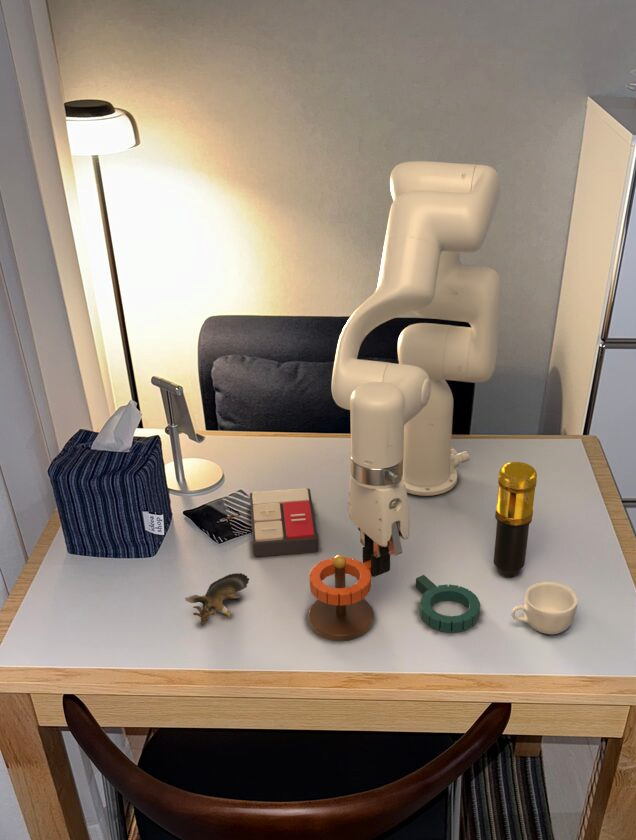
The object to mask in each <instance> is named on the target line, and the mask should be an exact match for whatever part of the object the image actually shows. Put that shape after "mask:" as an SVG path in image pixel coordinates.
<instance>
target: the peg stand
mask: <svg viewBox="0 0 636 840" xmlns="http://www.w3.org/2000/svg"><path fill="white" fill-rule="evenodd" d="M333 558H334V559H333V564H334V567H335V574H334V588H347V587H346V574H345V565H346V558H347V557H345V556H344V555H342V554H338V555H336V556H334V557H333ZM373 623H374V610H373V607H372V605H371V604H370V603H369V602H368V601H367V600H366V599H365V598H363V599H361V601H358V602H356V603H353V604H352V603H351V604H349V605H341V606H340V604H339V605H331V604H328V603H327V604H326V603H324V602H322V601H320V600H318V599H316V601H314V603H312V604H311V606H310V608H309V611H308V624H309V627H310V628H311V630H312V632H314V633H315V634H316V635H318V636H319V637H321V638H323V639H325V640H329V641H335V642H346V641H351V640H355V639H357V638H360V637H362V636H364V635H365V634H366V633H368V631H369V630H370V629H371V628H372V626H373Z"/></svg>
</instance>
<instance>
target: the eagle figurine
mask: <svg viewBox="0 0 636 840" xmlns="http://www.w3.org/2000/svg"><path fill="white" fill-rule="evenodd" d="M249 582H250V578H249V577H248V575H245V574H244V573H243V572H235V573H230V574H228V575H227V574H226V575H225V576H222V577H221V578H219V579H217V580H215V581H214V582H212V583H211V584H209V587H208V588H207V591H206V593H205V594H204V595H198V594H192V595H189V596H186V597H185V598H184V600H185V602H187V603H189V604H197V603H201V604H202V607H201V606H199V605H195V606H192V608H193V609H196V610H197V611H198V612H192V614H193V616H197V617H199V618H200V626H203V625H204V624H205V623H206V622H207V621H208V620H209V617H211V616H215V615H216V614H217V612H219V613H222V614H223V615H226V616H227V617H228V618H230V617H231V614H230V610H229V609H228V608H227V607H226V606H225V605H224V604H223V602H224V601H225V600H226V601H227V600H234V599H235V600H236V599H240V595H239V594H238V593H237V592H240V591H243V590H245V589H246V588H247V587H248V584H249ZM211 610H212V611H211Z"/></svg>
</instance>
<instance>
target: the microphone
mask: <svg viewBox="0 0 636 840" xmlns="http://www.w3.org/2000/svg"><path fill="white" fill-rule="evenodd" d="M537 478H538V473H537V470H536V469H535V468H534V466H532V465H531V464H528V463H526V462H521V461H511V462H508V463H505V464H503V465H502V466H501V467H500V469H499V474H498V481H497V483H498V488H497V489H498V490H497V499H496V506H495V514H494V518H495V520H496V529H495V539H494V550H493V551H494V552H493V564H494V567H496V570H497V571H498V573H499V574H500V576H503V577H505V578H513V577H515V576H516V575H518V573H519V572H520V571H522V569H523V568H524V567H525V565H526V558H527V557H526V556H527V547H528V539H529V538H528V537H529V529H530V524H531V523H532V521H533V517H534V503H535V492H536V487H537Z"/></svg>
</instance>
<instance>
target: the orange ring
mask: <svg viewBox="0 0 636 840" xmlns="http://www.w3.org/2000/svg"><path fill="white" fill-rule="evenodd" d="M334 558H335V557H330V558H326V559H324V560H321V561H320V562H318V563H316V564H315V565H314V566H313V567H312V568H311V570H310V572H309V575H308V579H309V580H308V582H309V589H310V593H311V595H312V596H313V597H314V598H315V599H316V600H320V601H322V602H324V603H326V604H327V603H328V604H331V605H339V604H340V606H341V605H349V604H351V603H352V604H353V603H356V602H358V601H361V599H365V598H366V597H367V596H368V595H369V594H370V591H371V588H372V578H374V577H373V576H372V575H371V560H369V561H367V562H364V563H363V561H360V560H357V559H355V558H352V557H345V558H346V565H345V575H349V576H351V577H354V578H356V579H357V580H358V581H356V583H355V584H353V585H350V586H347V587H346V588H335V587H333V586H329V585H327V584H326V583H324V580H325V579H327V578H328V577H330V576H332V575H335V567H334V564H333V559H334Z"/></svg>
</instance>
